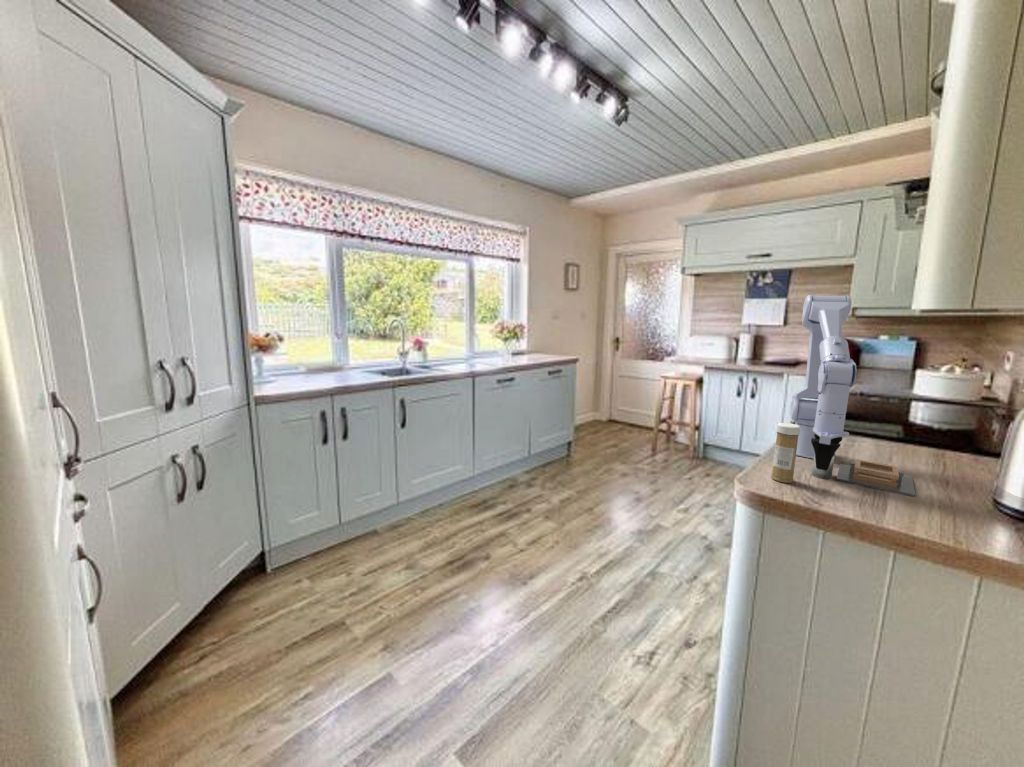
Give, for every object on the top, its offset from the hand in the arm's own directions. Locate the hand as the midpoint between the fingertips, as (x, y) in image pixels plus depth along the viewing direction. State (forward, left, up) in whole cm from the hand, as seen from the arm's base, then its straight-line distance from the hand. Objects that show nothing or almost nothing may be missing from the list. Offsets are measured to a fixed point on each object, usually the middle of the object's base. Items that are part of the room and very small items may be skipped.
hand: (822, 466), depth 107 cm
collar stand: (-6, +10, -2) cm, 12 cm away
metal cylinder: (0, 0, -2) cm, 2 cm away
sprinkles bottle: (+10, -7, -3) cm, 12 cm away
